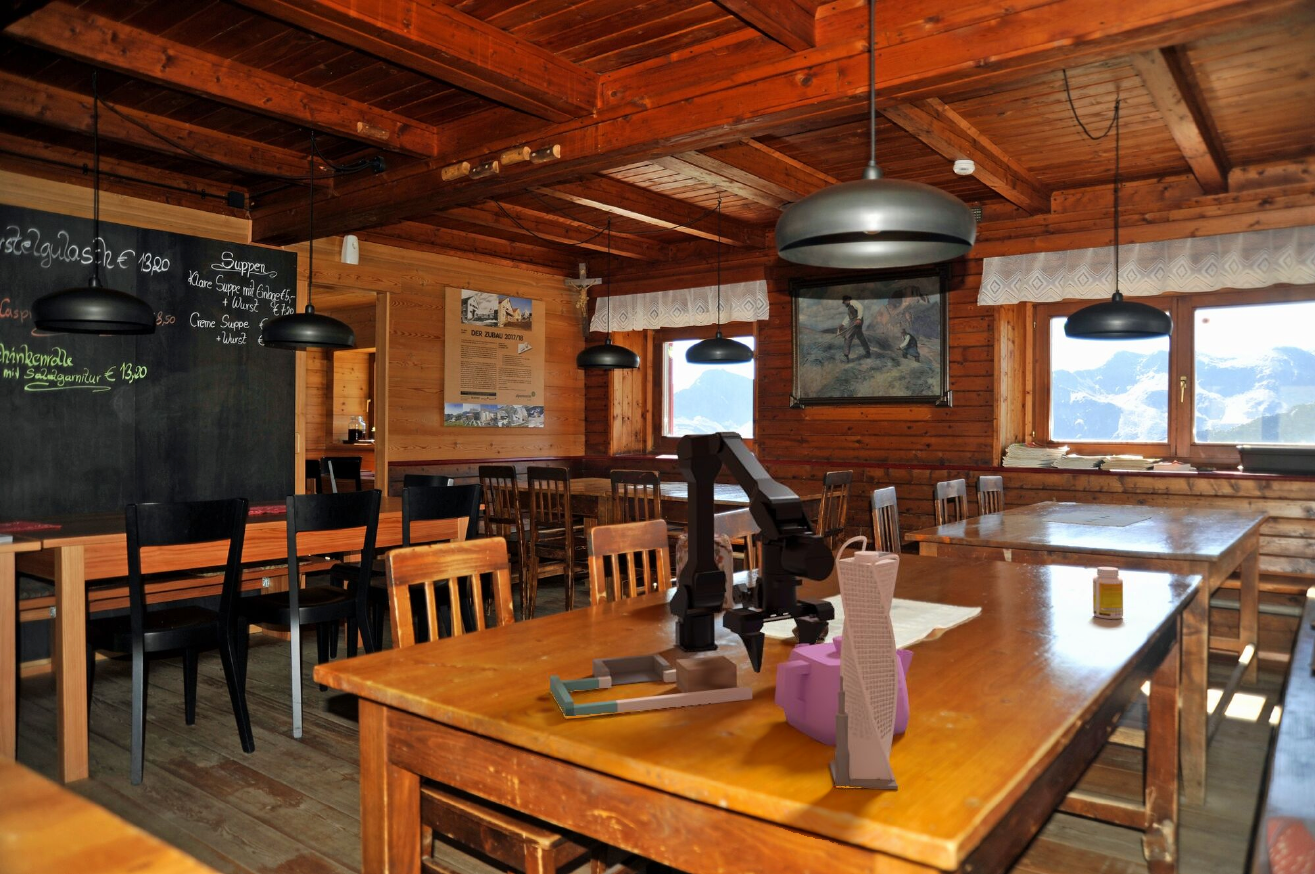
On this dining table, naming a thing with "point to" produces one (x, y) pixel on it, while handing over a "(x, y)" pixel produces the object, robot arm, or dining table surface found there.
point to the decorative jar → (721, 558)
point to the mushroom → (822, 635)
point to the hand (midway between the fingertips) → (780, 667)
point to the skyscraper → (866, 671)
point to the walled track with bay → (634, 672)
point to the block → (705, 674)
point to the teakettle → (825, 689)
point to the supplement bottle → (1108, 594)
